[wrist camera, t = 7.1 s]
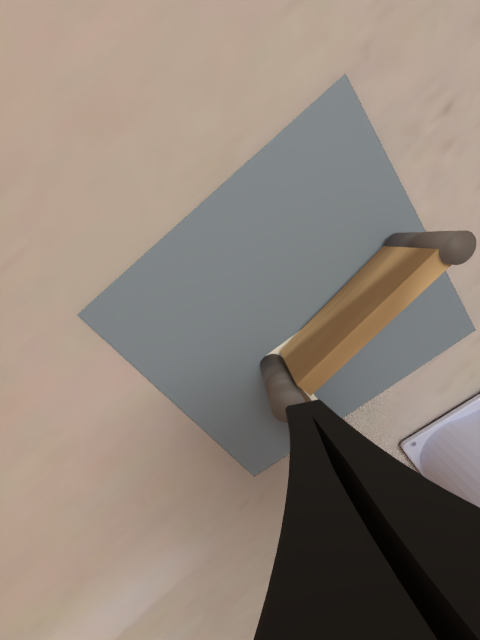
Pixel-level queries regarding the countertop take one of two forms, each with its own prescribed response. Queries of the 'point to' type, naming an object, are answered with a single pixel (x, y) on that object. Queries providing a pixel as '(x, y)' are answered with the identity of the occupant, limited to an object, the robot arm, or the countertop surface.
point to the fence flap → (372, 302)
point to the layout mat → (275, 281)
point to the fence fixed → (280, 386)
